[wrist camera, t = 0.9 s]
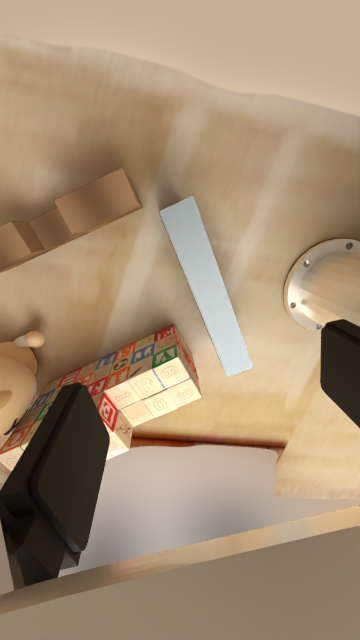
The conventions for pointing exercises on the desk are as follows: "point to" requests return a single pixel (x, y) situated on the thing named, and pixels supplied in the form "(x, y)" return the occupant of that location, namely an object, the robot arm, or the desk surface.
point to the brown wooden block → (68, 219)
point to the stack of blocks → (121, 390)
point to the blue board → (206, 283)
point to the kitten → (17, 379)
